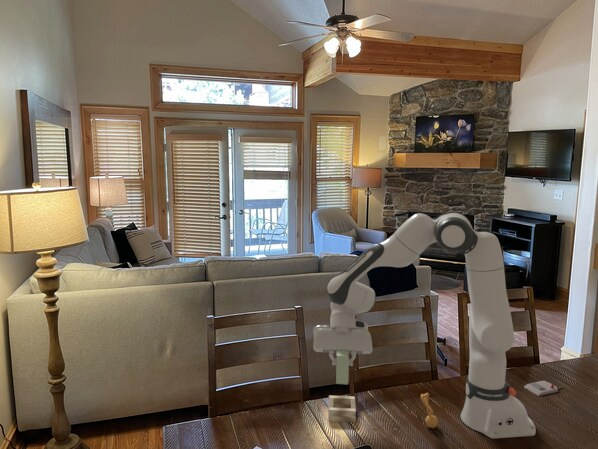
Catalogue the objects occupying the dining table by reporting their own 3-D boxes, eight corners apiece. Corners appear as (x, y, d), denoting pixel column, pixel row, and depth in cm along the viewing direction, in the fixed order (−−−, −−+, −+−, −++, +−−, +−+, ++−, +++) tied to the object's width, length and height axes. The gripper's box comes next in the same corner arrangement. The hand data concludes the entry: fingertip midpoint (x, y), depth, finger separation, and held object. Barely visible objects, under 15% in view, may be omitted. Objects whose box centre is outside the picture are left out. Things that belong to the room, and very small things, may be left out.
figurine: (442, 434, 139) (443, 399, 137) (423, 435, 139) (424, 400, 137) (432, 419, 147) (434, 386, 146) (415, 419, 147) (416, 386, 145)
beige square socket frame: (354, 407, 155) (354, 396, 154) (355, 422, 146) (355, 411, 145) (328, 405, 155) (329, 395, 155) (328, 421, 147) (328, 409, 146)
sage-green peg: (347, 378, 151) (348, 350, 149) (348, 384, 147) (348, 356, 145) (336, 377, 151) (336, 350, 149) (336, 383, 147) (336, 355, 145)
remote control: (519, 389, 168) (520, 382, 167) (550, 382, 173) (551, 375, 172) (534, 398, 161) (534, 390, 161) (566, 390, 167) (566, 383, 166)
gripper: (313, 321, 154) (311, 360, 146) (372, 323, 152) (373, 363, 144) (313, 328, 159) (311, 366, 151) (370, 330, 158) (372, 369, 149)
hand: (342, 365), depth 148 cm, fingers closed on sage-green peg, 4 cm apart
